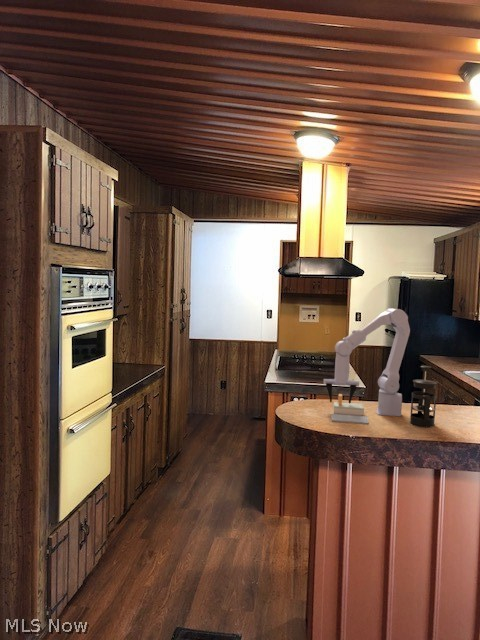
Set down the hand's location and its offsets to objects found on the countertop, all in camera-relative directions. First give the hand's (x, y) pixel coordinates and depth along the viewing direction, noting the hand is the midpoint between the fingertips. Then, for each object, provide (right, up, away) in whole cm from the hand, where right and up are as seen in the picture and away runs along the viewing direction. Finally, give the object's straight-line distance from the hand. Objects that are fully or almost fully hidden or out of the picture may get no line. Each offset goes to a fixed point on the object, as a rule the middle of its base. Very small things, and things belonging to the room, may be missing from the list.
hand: (340, 402), depth 224 cm
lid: (+3, -3, 0) cm, 4 cm away
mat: (+2, -5, -11) cm, 12 cm away
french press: (+29, -7, -14) cm, 33 cm away
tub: (+3, -4, 0) cm, 5 cm away
